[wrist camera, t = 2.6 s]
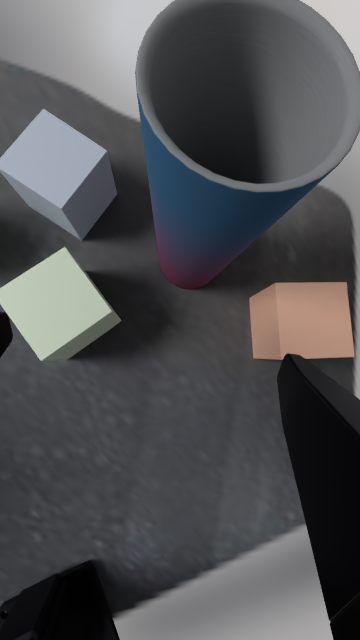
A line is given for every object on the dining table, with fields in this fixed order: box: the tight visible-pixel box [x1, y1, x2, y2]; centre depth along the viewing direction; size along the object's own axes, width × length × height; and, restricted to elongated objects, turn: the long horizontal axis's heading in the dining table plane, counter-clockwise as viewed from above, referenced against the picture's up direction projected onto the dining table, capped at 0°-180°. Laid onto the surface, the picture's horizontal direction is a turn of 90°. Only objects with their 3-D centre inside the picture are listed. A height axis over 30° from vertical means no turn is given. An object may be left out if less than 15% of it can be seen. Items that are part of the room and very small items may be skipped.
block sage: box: [0, 247, 121, 361], centre depth 19 cm, size 5×5×5 cm
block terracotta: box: [249, 282, 355, 360], centre depth 20 cm, size 5×5×5 cm
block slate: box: [0, 109, 117, 241], centre depth 20 cm, size 5×5×5 cm
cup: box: [135, 0, 360, 289], centre depth 15 cm, size 7×7×15 cm
